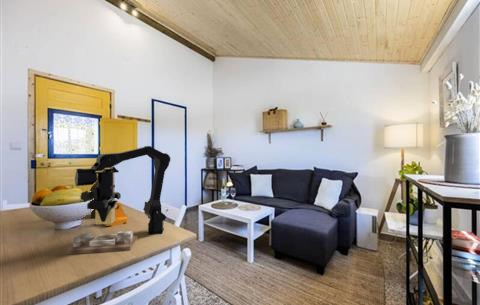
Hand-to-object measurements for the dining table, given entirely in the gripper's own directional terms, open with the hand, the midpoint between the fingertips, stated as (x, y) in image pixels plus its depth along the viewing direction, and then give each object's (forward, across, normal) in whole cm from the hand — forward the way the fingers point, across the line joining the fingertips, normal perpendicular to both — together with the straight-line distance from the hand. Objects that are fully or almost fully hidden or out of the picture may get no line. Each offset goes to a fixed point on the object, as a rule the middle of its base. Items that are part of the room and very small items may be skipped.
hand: (105, 220), depth 93 cm
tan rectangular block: (+1, 0, 0) cm, 1 cm away
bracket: (+11, -29, -6) cm, 31 cm away
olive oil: (+11, -45, -20) cm, 50 cm away
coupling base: (+11, 0, 0) cm, 11 cm away
